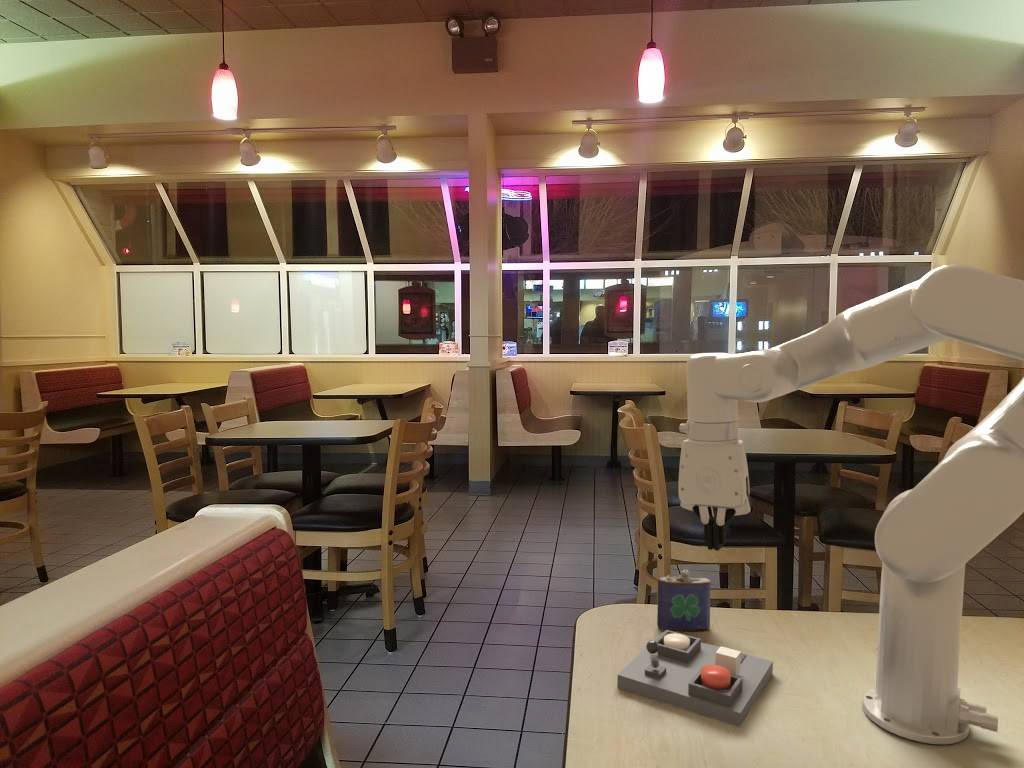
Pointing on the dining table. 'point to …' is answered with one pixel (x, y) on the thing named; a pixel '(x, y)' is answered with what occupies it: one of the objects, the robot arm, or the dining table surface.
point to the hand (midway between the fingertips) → (715, 547)
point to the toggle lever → (653, 653)
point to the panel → (696, 680)
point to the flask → (683, 603)
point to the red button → (715, 677)
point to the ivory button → (677, 641)
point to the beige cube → (729, 659)
